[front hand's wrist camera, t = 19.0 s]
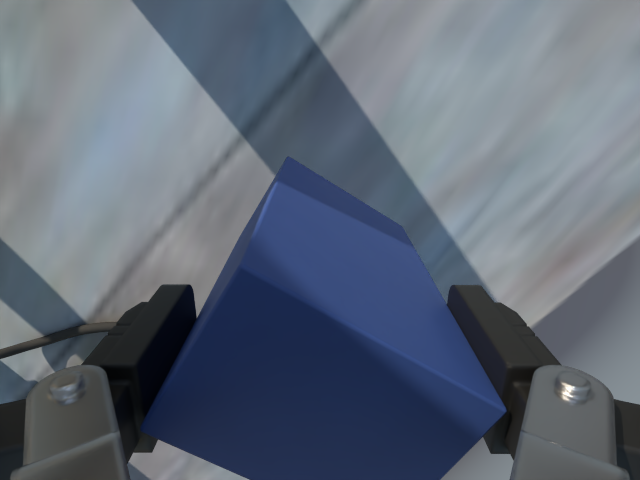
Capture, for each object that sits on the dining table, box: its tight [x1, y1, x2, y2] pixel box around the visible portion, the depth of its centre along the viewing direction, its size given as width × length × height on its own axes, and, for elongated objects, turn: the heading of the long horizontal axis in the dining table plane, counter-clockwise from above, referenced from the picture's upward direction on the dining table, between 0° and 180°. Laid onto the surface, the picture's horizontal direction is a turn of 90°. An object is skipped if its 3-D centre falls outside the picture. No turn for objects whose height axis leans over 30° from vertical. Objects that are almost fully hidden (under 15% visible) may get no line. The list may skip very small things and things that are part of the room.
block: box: [140, 157, 507, 480], centre depth 13 cm, size 4×6×11 cm
